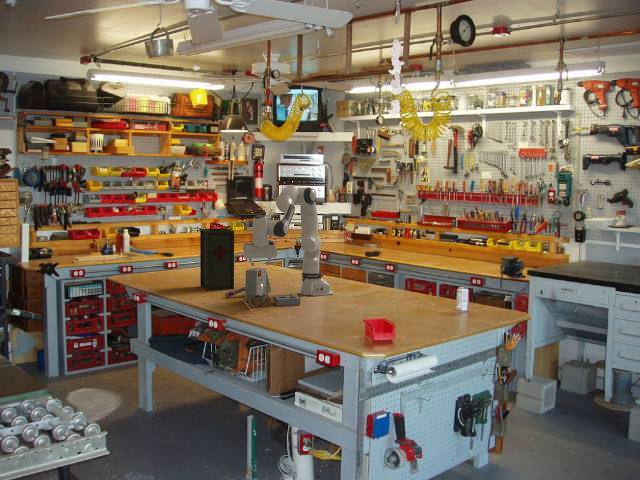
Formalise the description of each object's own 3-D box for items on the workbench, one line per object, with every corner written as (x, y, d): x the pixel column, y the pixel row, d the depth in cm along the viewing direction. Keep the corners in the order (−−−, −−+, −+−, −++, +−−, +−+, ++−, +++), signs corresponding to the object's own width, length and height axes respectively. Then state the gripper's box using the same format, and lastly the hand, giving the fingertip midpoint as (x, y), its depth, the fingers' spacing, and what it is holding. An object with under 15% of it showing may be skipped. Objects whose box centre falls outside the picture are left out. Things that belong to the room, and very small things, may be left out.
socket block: (296, 303, 401) (296, 295, 401) (300, 306, 392) (300, 298, 391) (273, 304, 397) (274, 296, 397) (277, 307, 388) (277, 299, 387)
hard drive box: (256, 303, 399) (256, 271, 397) (244, 302, 401) (244, 270, 399) (266, 298, 413) (266, 267, 411) (255, 297, 416) (255, 266, 414)
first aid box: (225, 284, 460) (226, 228, 456) (234, 289, 444) (234, 230, 439) (200, 286, 452) (200, 228, 448) (207, 290, 436) (207, 231, 431)
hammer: (225, 285, 408) (266, 270, 423) (220, 283, 415) (261, 269, 430) (231, 308, 412) (271, 292, 427) (225, 305, 418) (265, 290, 433)
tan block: (294, 302, 398) (294, 292, 398) (296, 303, 393) (296, 293, 393) (290, 302, 397) (290, 292, 397) (292, 303, 393) (292, 294, 392)
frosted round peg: (260, 302, 391) (260, 282, 390) (263, 303, 389) (263, 283, 388) (256, 303, 389) (256, 283, 388) (259, 304, 387) (259, 284, 386)
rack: (267, 304, 396) (267, 294, 396) (270, 307, 387) (270, 298, 386) (247, 305, 393) (248, 295, 392) (250, 308, 383) (250, 298, 383)
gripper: (244, 243, 379) (244, 267, 380) (277, 242, 386) (277, 265, 388) (241, 242, 385) (241, 265, 386) (274, 241, 392) (274, 264, 393)
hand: (260, 265), depth 387 cm, fingers open, 8 cm apart
